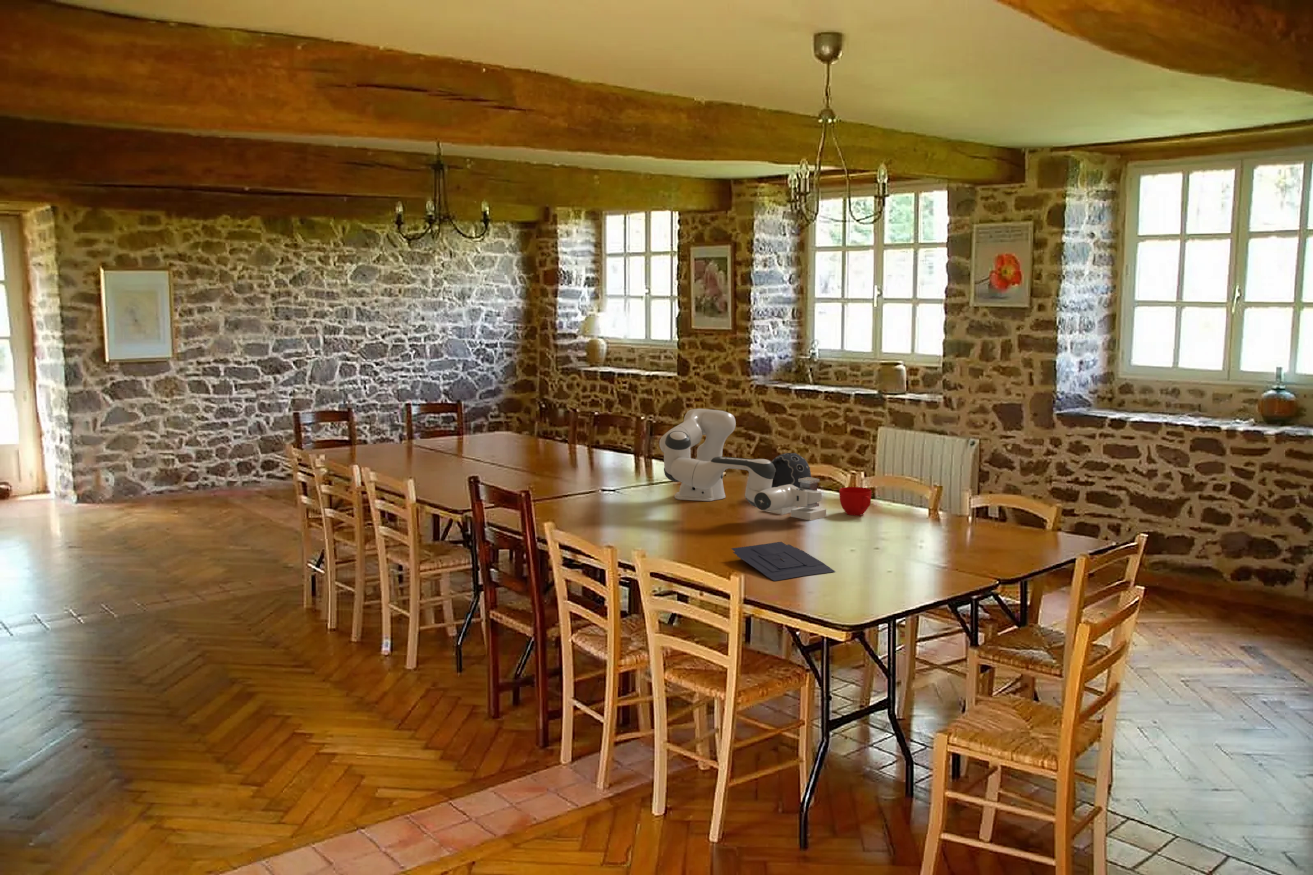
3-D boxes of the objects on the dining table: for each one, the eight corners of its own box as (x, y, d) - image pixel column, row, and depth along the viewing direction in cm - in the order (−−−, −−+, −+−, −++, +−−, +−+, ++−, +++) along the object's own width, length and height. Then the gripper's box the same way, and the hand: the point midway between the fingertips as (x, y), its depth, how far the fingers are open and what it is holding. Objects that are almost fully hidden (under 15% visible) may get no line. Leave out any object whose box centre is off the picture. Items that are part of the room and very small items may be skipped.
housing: (809, 508, 419) (810, 480, 418) (797, 506, 424) (798, 478, 422) (819, 506, 423) (819, 478, 422) (807, 504, 428) (807, 477, 426)
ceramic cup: (855, 520, 417) (855, 495, 415) (832, 512, 432) (833, 488, 431) (882, 517, 422) (883, 493, 420) (859, 509, 437) (860, 485, 436)
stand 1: (782, 514, 428) (782, 507, 428) (763, 510, 435) (763, 503, 435) (797, 510, 435) (797, 503, 435) (779, 507, 442) (779, 500, 442)
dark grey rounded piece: (785, 493, 472) (785, 449, 469) (813, 501, 455) (814, 455, 452) (765, 495, 466) (766, 451, 463) (793, 503, 449) (794, 457, 446)
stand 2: (810, 520, 417) (810, 513, 417) (790, 516, 424) (791, 509, 424) (826, 516, 424) (826, 509, 424) (806, 512, 431) (806, 505, 431)
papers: (785, 548, 369) (785, 538, 368) (835, 579, 343) (836, 568, 342) (725, 556, 358) (726, 546, 357) (772, 589, 333) (773, 578, 332)
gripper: (767, 499, 422) (790, 495, 431) (807, 507, 407) (830, 502, 416) (768, 484, 421) (790, 480, 430) (808, 491, 406) (830, 486, 416)
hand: (810, 491), depth 423 cm, fingers closed on housing, 5 cm apart
